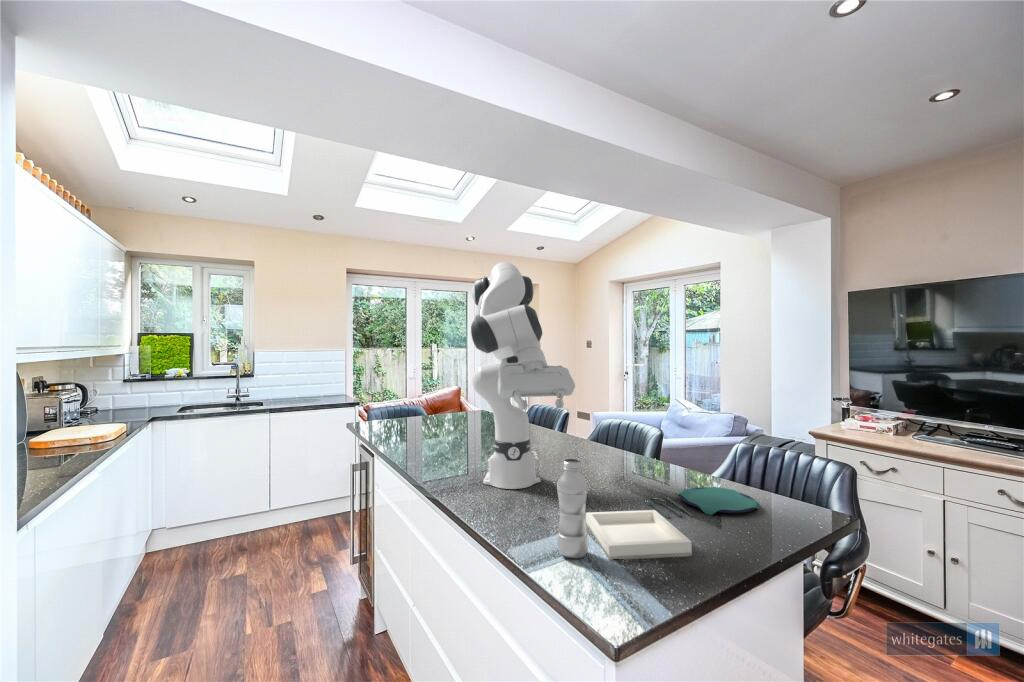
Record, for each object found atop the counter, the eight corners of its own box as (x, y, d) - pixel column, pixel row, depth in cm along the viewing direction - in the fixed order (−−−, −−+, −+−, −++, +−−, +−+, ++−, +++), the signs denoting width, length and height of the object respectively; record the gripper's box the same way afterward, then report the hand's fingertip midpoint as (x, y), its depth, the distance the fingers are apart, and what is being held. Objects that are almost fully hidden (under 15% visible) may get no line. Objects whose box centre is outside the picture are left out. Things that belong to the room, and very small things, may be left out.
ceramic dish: (585, 524, 107) (585, 512, 107) (655, 521, 109) (654, 509, 109) (609, 560, 89) (609, 545, 89) (691, 556, 91) (691, 541, 91)
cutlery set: (775, 515, 113) (775, 507, 113) (669, 524, 109) (668, 515, 109) (727, 491, 133) (727, 484, 133) (635, 498, 129) (635, 490, 129)
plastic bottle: (585, 564, 87) (585, 466, 87) (553, 559, 90) (553, 463, 90) (591, 550, 93) (590, 458, 94) (560, 545, 96) (560, 455, 96)
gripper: (563, 373, 121) (577, 413, 111) (492, 375, 116) (501, 416, 106) (569, 358, 117) (584, 398, 107) (496, 358, 112) (505, 400, 102)
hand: (542, 407), depth 107 cm, fingers open, 8 cm apart
